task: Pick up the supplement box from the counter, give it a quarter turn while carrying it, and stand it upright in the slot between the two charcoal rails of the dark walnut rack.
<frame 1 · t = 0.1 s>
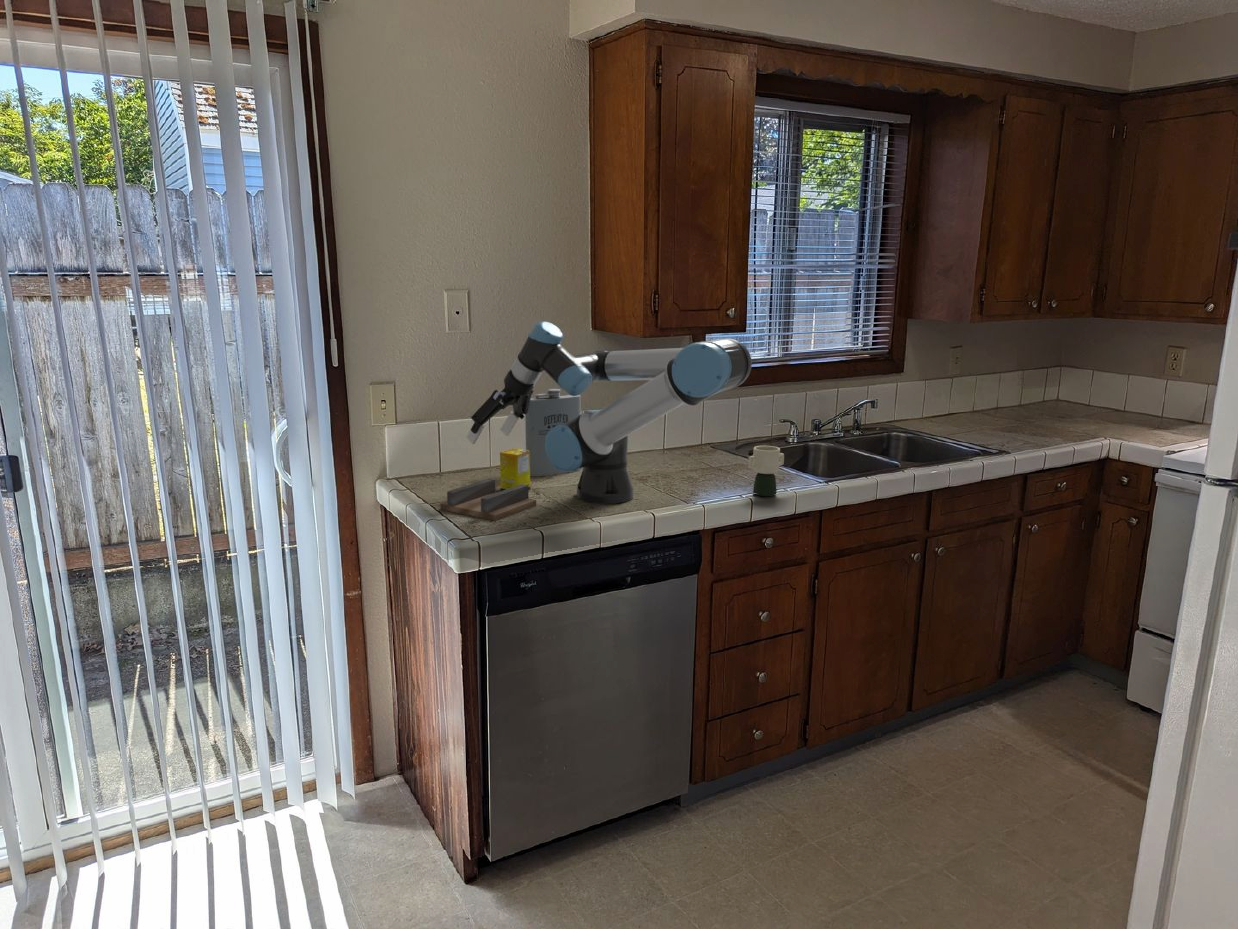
hand: (487, 436, 230), 15 cm above the worktop, tool tilted 35°, fingers open, 13 cm apart
character mug: (764, 496, 232), on the worktop
supplement box: (515, 490, 235), on the worktop
slot rack: (488, 507, 219), on the worktop
flask: (554, 473, 255), on the worktop
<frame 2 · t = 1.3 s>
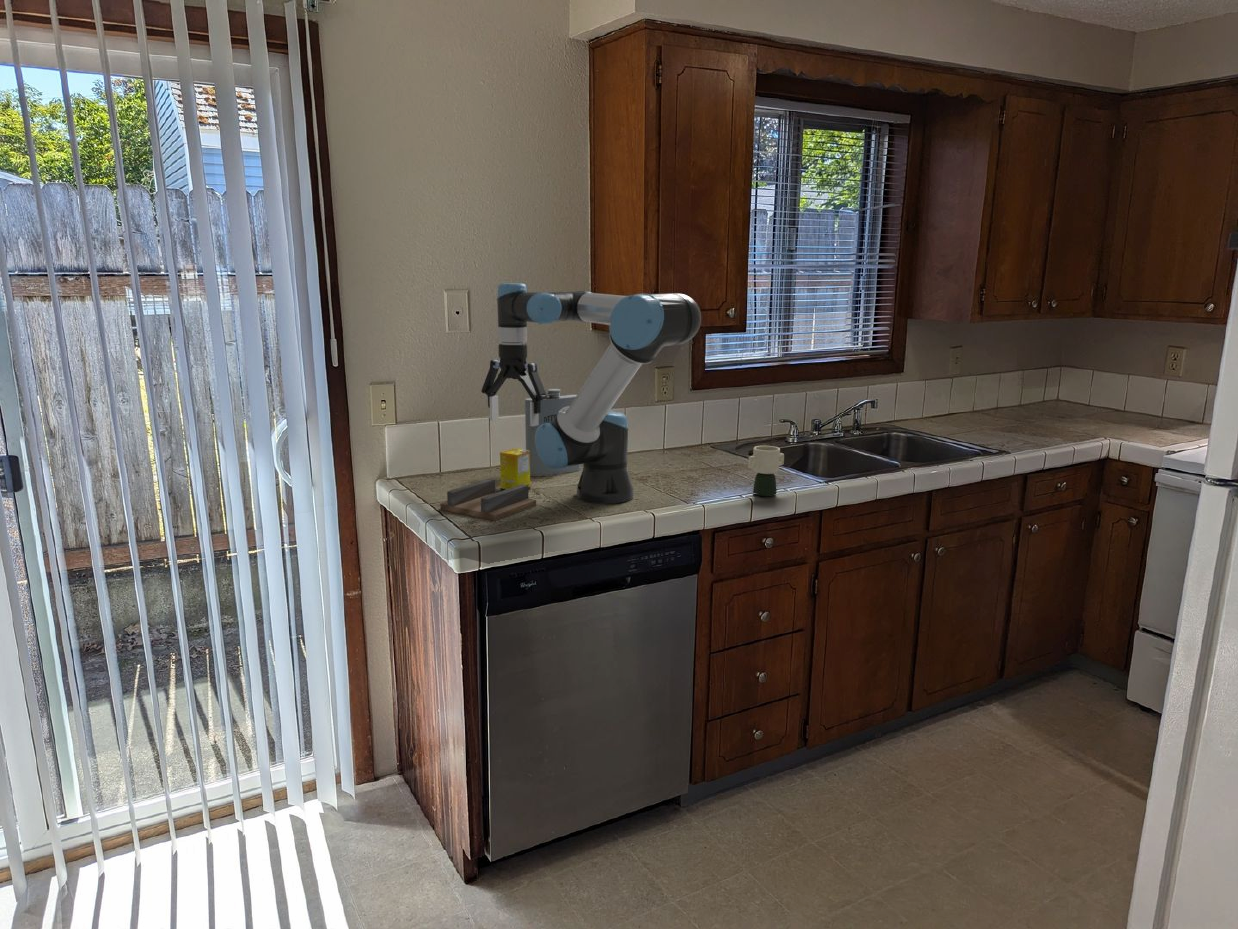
hand: (514, 422, 231), 19 cm above the worktop, tool pointing down, fingers open, 13 cm apart
nothing on the worktop moved.
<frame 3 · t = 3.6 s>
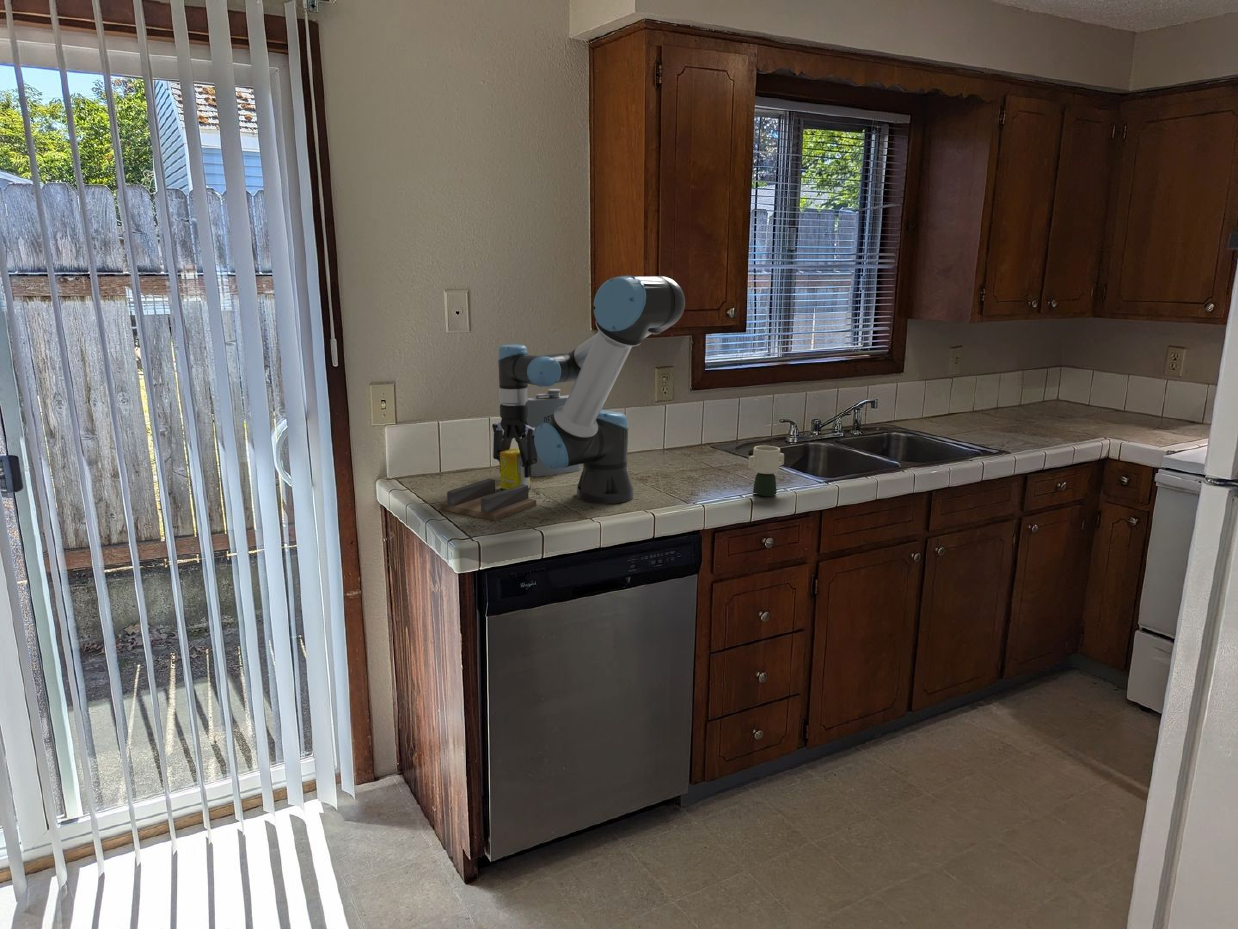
hand: (515, 486, 235), 1 cm above the worktop, tool pointing down, fingers closed on supplement box, 6 cm apart
supplement box: (515, 490, 235), on the worktop, touching gripper
everything else where it was.
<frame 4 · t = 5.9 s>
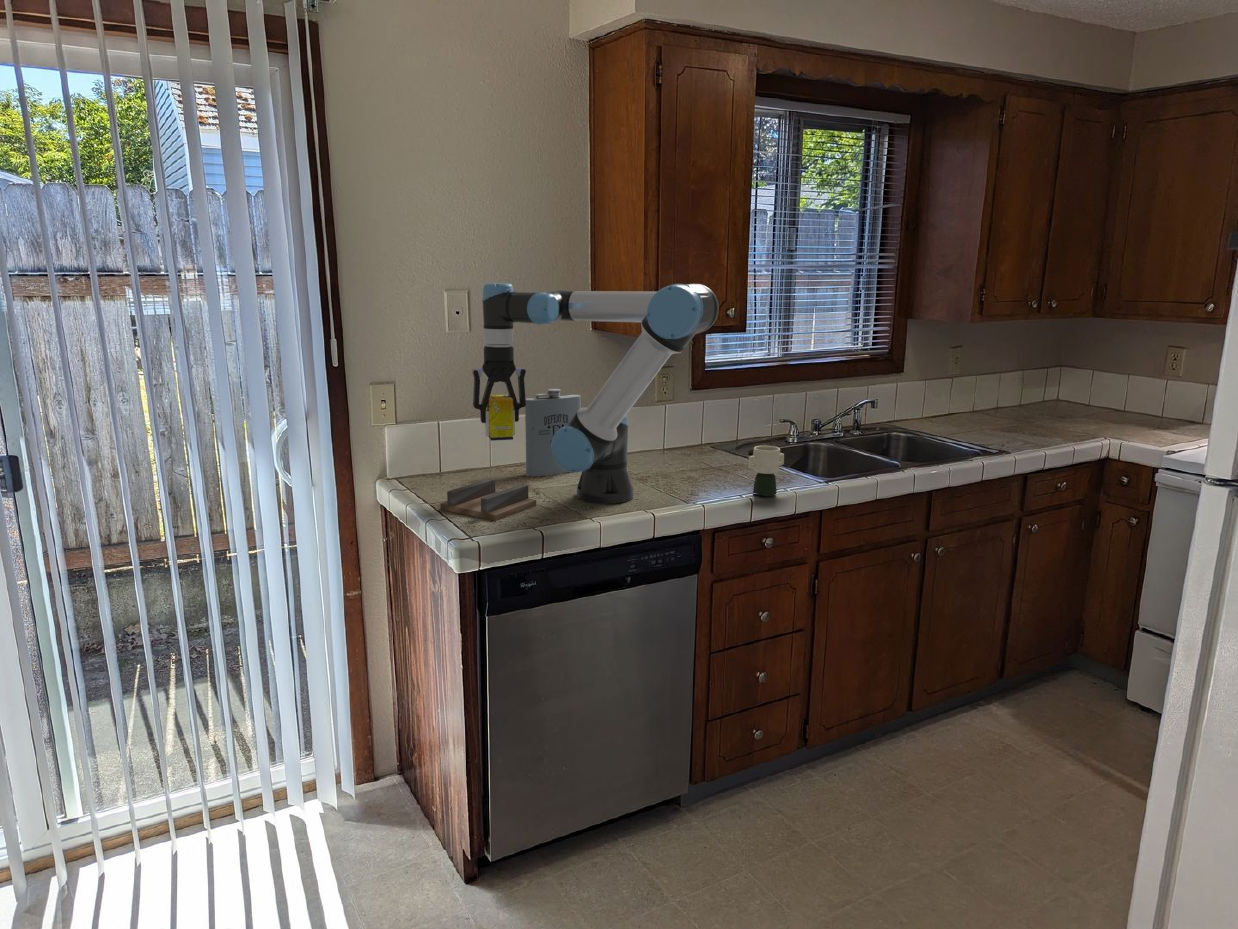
hand: (500, 434, 224), 17 cm above the worktop, tool pointing down, fingers closed on supplement box, 6 cm apart
supplement box: (500, 438, 224), point 16 cm above the worktop, touching gripper
everything else where it was.
when the fingers open (4 cm above the worktop, at t = 8.5 s): supplement box drops 1 cm, resting on slot rack.
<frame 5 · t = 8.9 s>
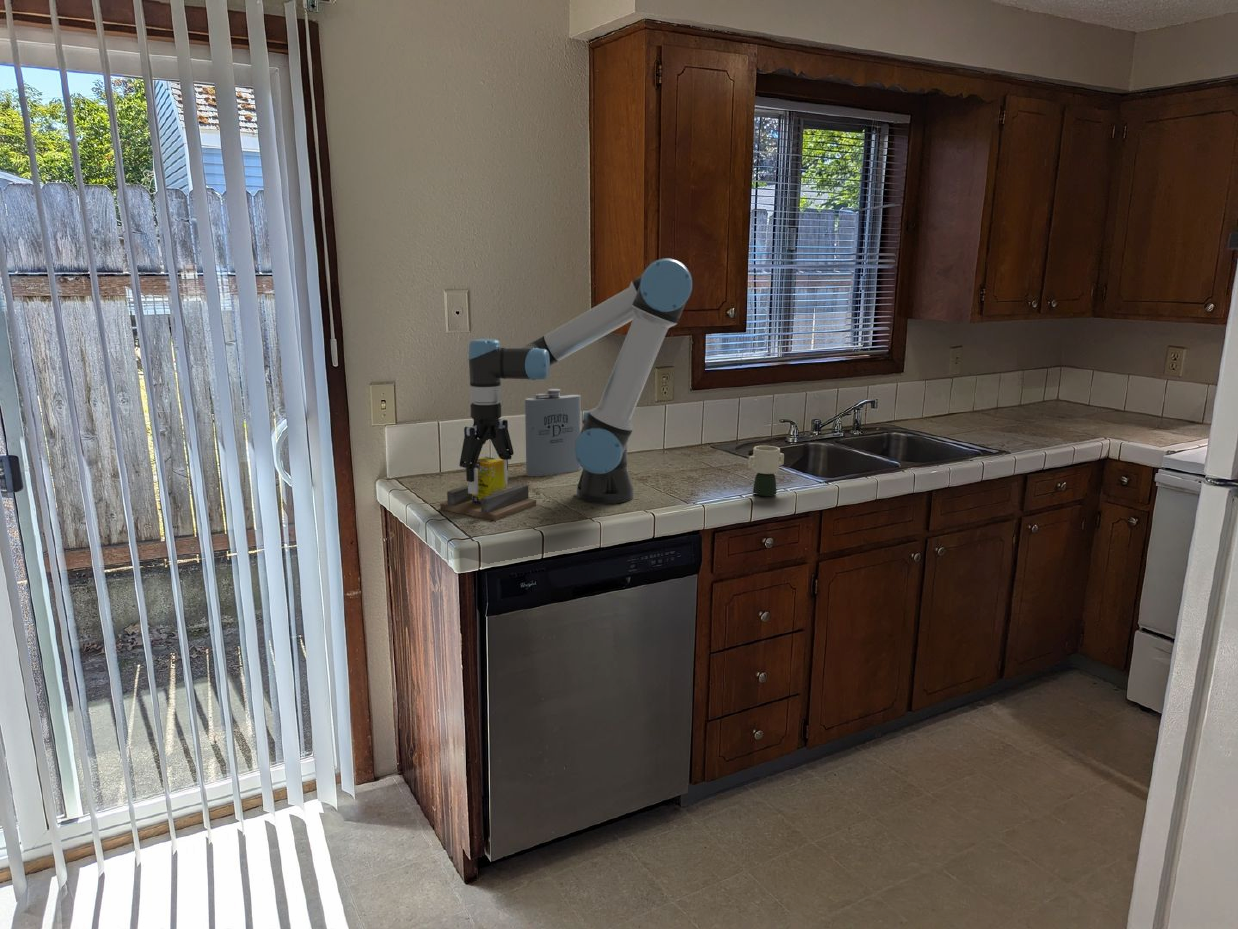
hand: (488, 488, 218), 5 cm above the worktop, tool pointing down, fingers open, 10 cm apart
supplement box: (488, 502, 218), point 1 cm above the worktop, touching slot rack
everything else where it was.
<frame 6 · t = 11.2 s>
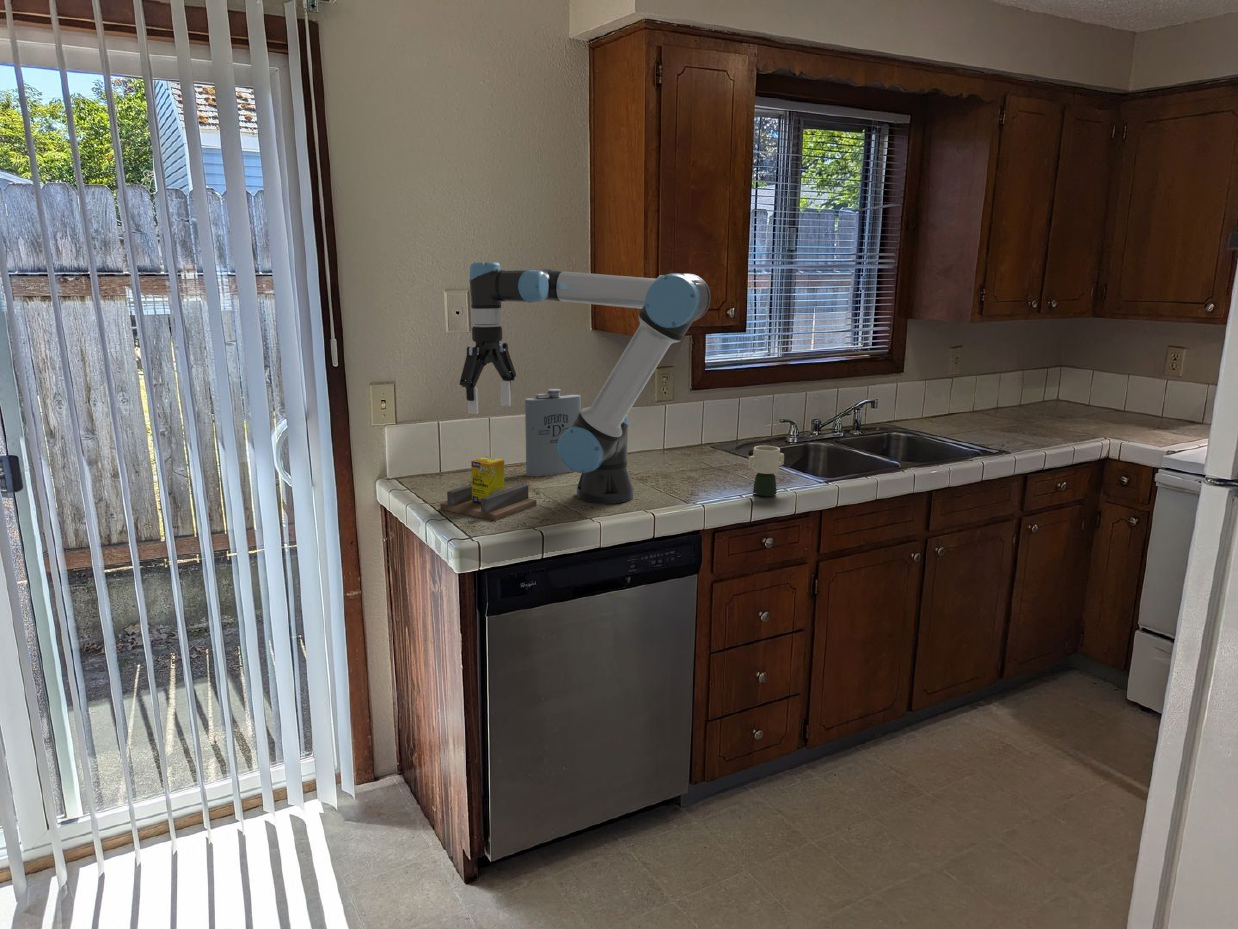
hand: (490, 409, 220), 24 cm above the worktop, tool pointing down, fingers open, 13 cm apart
nothing on the worktop moved.
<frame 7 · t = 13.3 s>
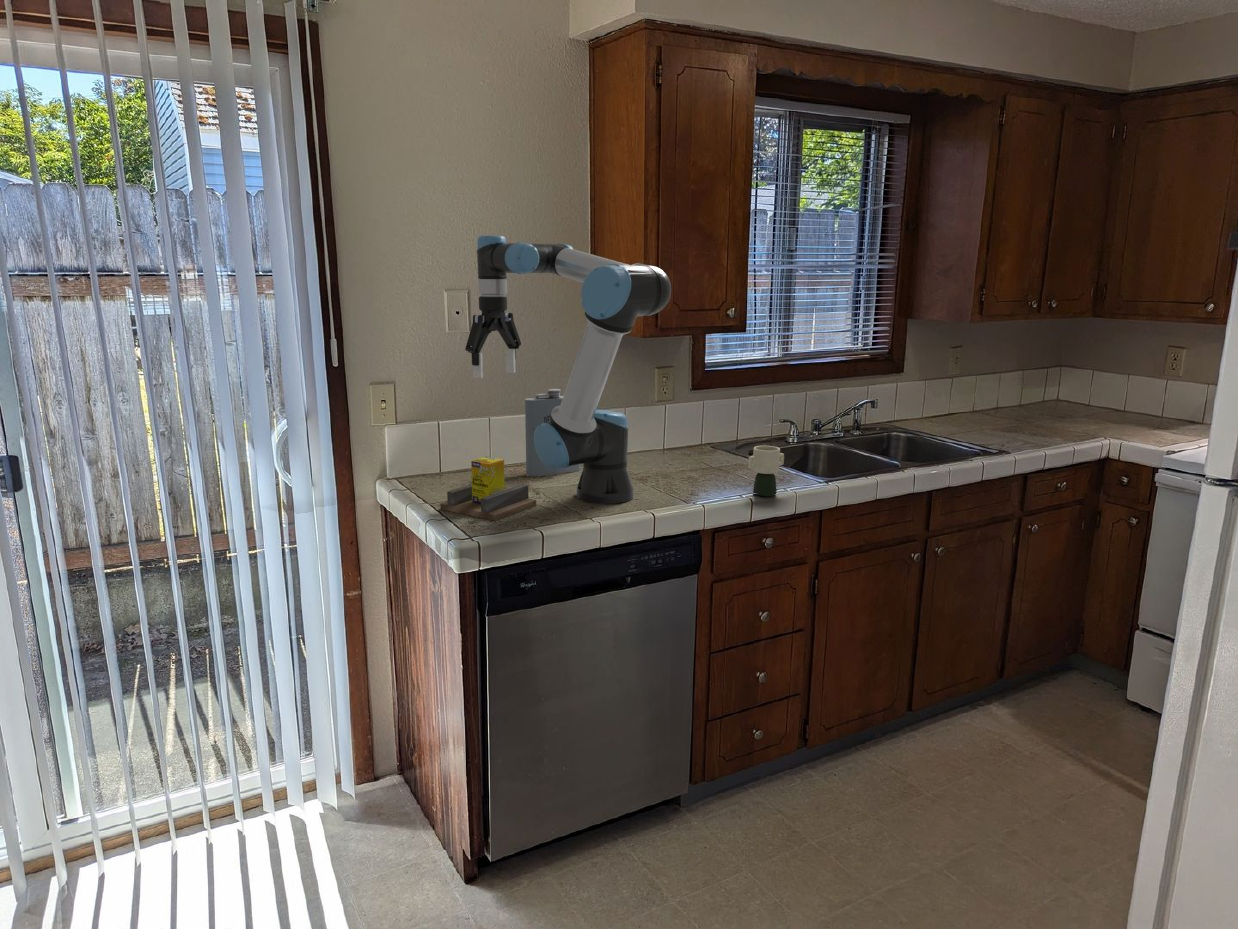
hand: (494, 375, 234), 31 cm above the worktop, tool pointing down, fingers open, 13 cm apart
nothing on the worktop moved.
at the end: supplement box inside the target area on the slot rack (0.0 cm from its centre), point 1.3 cm above the slot rack's base; supplement box tilted 0°; the gripper is holding nothing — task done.
